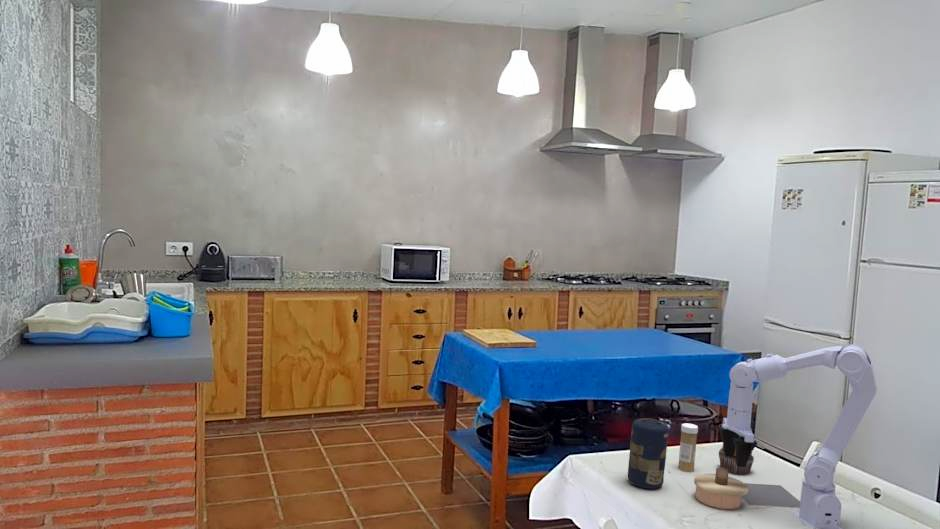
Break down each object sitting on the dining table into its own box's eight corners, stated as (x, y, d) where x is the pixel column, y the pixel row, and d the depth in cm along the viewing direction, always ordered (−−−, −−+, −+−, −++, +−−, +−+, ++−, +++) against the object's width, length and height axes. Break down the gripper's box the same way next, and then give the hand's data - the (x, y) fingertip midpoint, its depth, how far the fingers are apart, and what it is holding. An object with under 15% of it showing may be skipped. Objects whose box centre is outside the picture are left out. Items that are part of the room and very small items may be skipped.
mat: (807, 510, 181) (807, 507, 181) (749, 506, 180) (749, 504, 180) (780, 487, 196) (780, 485, 196) (726, 484, 195) (726, 482, 195)
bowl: (747, 513, 177) (748, 495, 176) (704, 510, 176) (706, 493, 176) (730, 496, 187) (731, 479, 187) (690, 493, 187) (691, 477, 187)
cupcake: (758, 479, 201) (761, 444, 201) (723, 476, 201) (727, 442, 201) (745, 467, 211) (748, 434, 210) (712, 464, 211) (715, 431, 210)
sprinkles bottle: (697, 472, 203) (701, 426, 202) (686, 475, 200) (691, 428, 199) (684, 467, 207) (688, 421, 206) (673, 469, 204) (678, 423, 203)
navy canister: (633, 474, 198) (639, 411, 196) (667, 483, 193) (673, 418, 192) (622, 484, 189) (627, 418, 188) (657, 494, 185) (663, 426, 183)
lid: (757, 497, 175) (759, 480, 175) (706, 495, 174) (707, 478, 174) (734, 477, 188) (736, 461, 188) (686, 475, 187) (688, 459, 187)
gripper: (713, 400, 189) (709, 450, 190) (736, 416, 175) (731, 470, 176) (739, 402, 190) (734, 452, 191) (764, 417, 175) (759, 471, 176)
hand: (734, 461), depth 183 cm, fingers open, 7 cm apart
